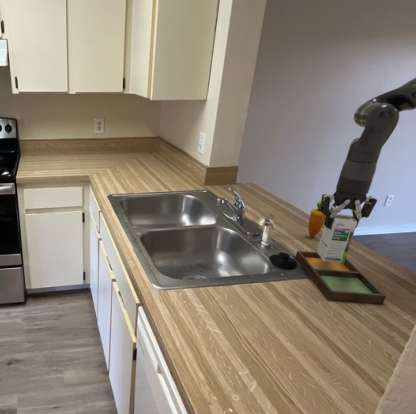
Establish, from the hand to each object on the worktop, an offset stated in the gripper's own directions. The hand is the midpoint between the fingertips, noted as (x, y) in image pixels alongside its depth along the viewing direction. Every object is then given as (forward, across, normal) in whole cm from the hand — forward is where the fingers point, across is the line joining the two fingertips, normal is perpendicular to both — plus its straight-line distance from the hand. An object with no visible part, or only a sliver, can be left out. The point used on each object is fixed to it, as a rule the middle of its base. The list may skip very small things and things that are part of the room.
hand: (339, 228), depth 100 cm
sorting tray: (+15, 0, -5) cm, 16 cm away
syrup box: (+11, 0, 0) cm, 11 cm away
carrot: (+15, +5, +22) cm, 27 cm away
